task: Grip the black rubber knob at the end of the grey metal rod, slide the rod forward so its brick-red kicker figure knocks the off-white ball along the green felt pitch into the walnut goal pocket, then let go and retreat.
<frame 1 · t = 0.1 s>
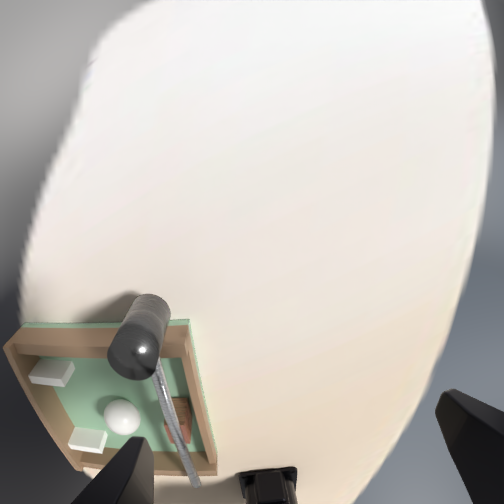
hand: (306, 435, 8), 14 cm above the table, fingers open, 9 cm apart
rod: (172, 423, 20), point 4 cm above the table, slide at 0.0 cm
ball: (122, 417, 22), point 2 cm above the table, touching pitch
pitch: (122, 398, 24), on the table
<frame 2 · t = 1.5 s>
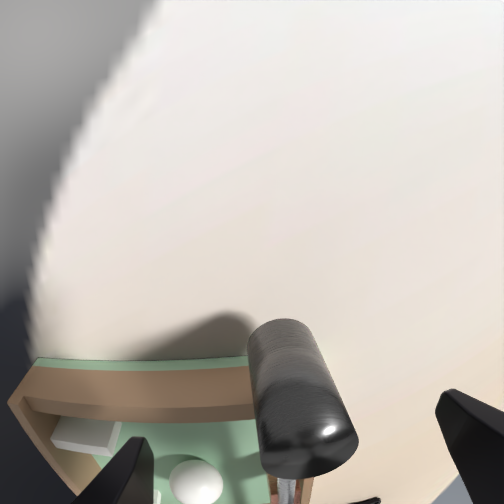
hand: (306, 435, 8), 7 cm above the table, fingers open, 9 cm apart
rod: (286, 492, 13), point 4 cm above the table, slide at 0.0 cm
ball: (196, 483, 15), point 2 cm above the table, touching pitch
pitch: (189, 454, 17), on the table
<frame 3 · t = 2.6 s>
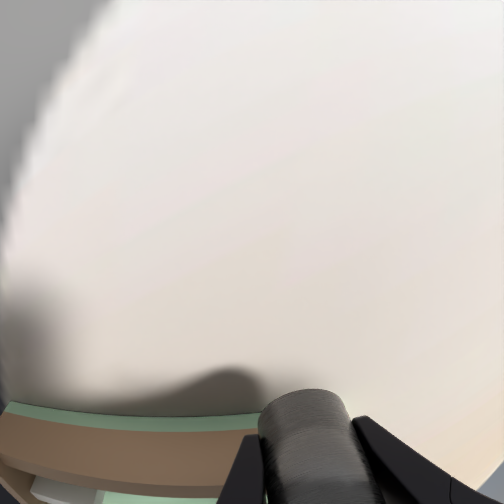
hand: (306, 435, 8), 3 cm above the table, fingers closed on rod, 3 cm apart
pitch: (187, 502, 13), on the table
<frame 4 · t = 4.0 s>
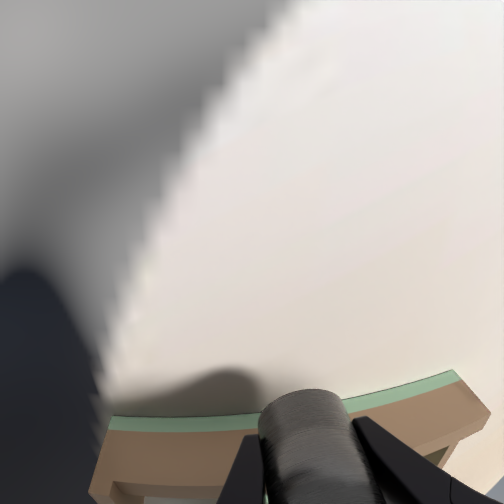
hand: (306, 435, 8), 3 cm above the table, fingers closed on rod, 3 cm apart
pitch: (292, 495, 14), on the table
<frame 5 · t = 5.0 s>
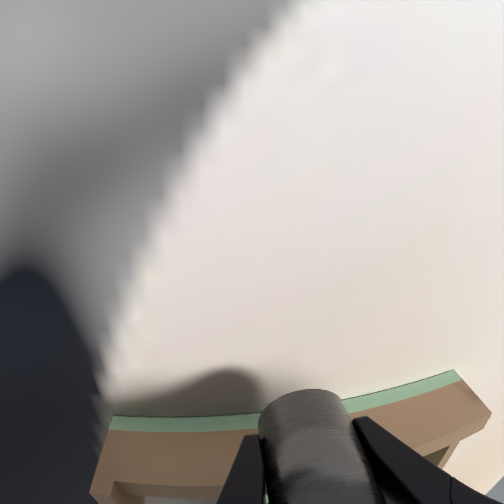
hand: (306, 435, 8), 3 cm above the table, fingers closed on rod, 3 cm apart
pitch: (293, 495, 14), on the table
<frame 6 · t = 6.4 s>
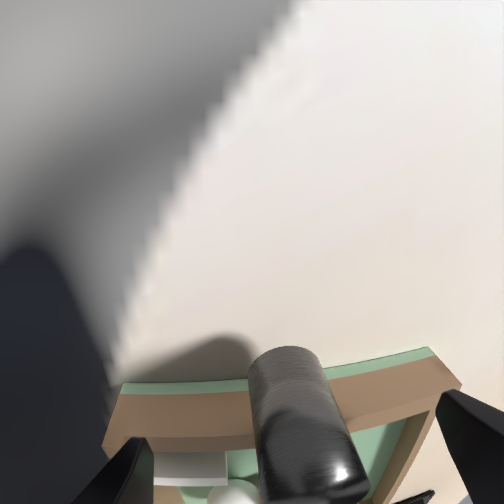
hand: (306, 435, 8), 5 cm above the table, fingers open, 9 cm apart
ball: (235, 503, 13), point 2 cm above the table, tilted 127°, touching pitch
pitch: (284, 467, 16), on the table
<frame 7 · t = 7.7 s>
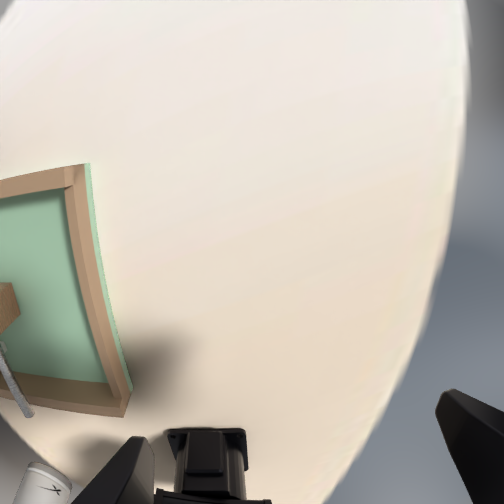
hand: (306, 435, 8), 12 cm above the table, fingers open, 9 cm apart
travel mug: (50, 473, 26), on the table
pitch: (20, 291, 18), on the table
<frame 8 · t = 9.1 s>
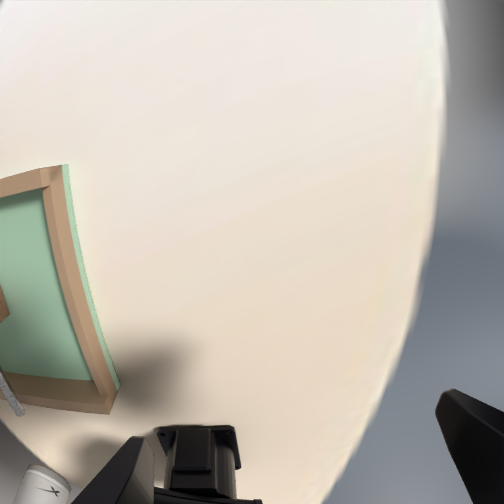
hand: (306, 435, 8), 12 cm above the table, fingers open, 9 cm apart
travel mug: (49, 475, 26), on the table
pitch: (9, 293, 18), on the table
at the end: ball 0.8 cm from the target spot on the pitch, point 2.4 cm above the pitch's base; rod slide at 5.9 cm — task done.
